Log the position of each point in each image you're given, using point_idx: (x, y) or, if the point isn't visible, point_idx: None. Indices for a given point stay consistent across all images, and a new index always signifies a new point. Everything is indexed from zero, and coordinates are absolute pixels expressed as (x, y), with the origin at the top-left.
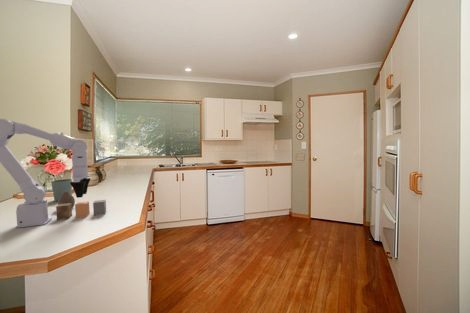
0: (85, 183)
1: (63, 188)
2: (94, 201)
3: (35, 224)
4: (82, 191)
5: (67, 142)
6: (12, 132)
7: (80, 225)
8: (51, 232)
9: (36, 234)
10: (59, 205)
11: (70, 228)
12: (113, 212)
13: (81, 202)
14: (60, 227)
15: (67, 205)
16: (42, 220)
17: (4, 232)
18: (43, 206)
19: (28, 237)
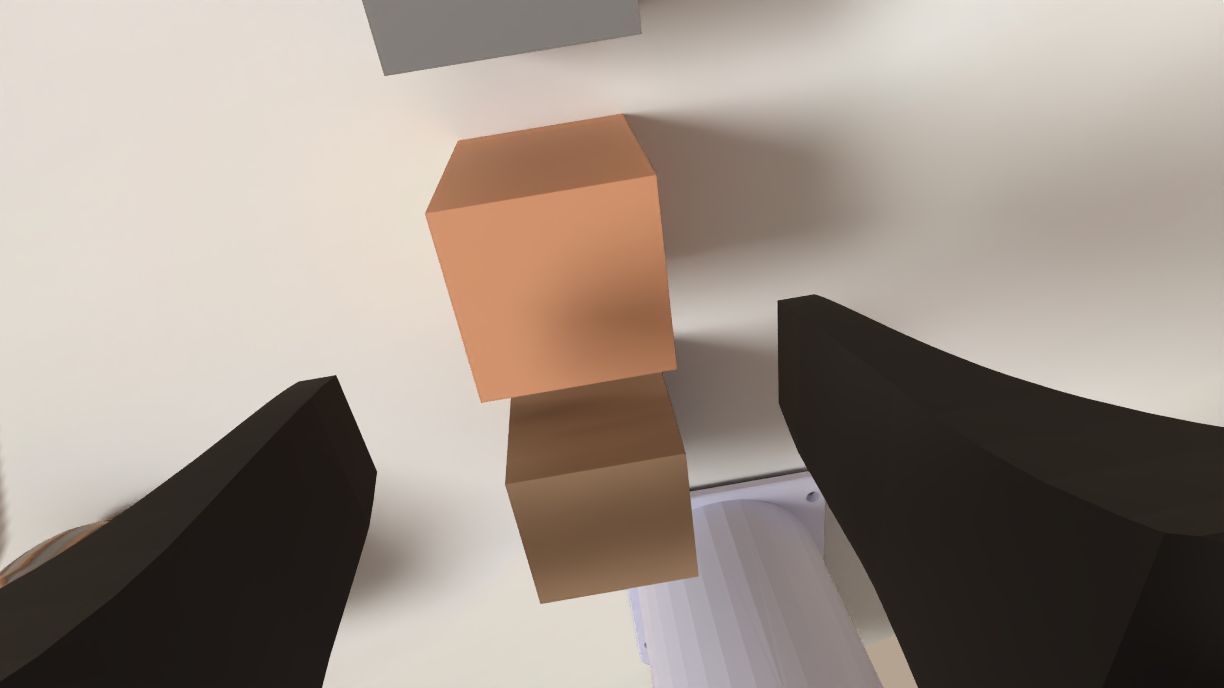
0: (169, 678)
1: None
2: (478, 56)
3: (822, 537)
4: (932, 356)
5: None
6: None
7: (1093, 32)
8: (1159, 281)
9: (1125, 389)
10: (639, 567)
11: (1148, 124)
12: None
13: (509, 330)
14: (1020, 268)
15: (685, 464)
16: (793, 527)
17: (891, 635)
18: (840, 666)
19: (1173, 411)
